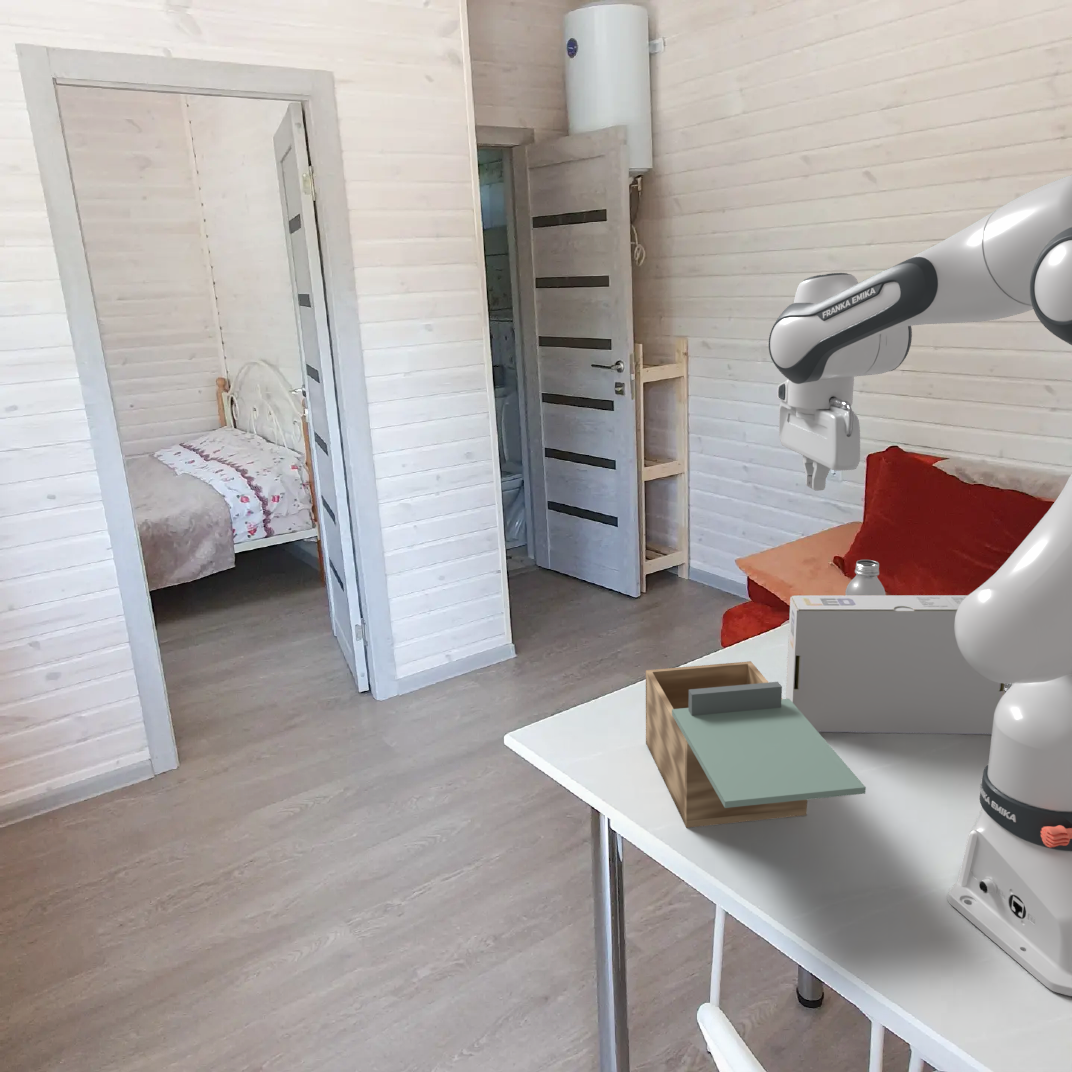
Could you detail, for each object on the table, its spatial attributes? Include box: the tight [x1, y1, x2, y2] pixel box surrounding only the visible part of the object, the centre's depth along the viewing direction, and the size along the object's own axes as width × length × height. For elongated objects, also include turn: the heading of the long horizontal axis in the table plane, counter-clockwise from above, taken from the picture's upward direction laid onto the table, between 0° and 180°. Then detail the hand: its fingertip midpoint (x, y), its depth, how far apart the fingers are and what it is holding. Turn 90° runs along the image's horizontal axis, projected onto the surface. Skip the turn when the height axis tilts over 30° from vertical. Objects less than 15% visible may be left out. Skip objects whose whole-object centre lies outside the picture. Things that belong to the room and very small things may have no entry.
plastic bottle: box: [845, 559, 887, 595], centre depth 156 cm, size 6×7×20 cm
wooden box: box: [645, 660, 808, 829], centre depth 127 cm, size 22×16×12 cm
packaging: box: [785, 594, 1006, 735], centre depth 139 cm, size 30×6×20 cm, turn 84°
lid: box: [672, 681, 867, 808], centre depth 111 cm, size 22×16×4 cm
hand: (815, 488), depth 133 cm, fingers closed
